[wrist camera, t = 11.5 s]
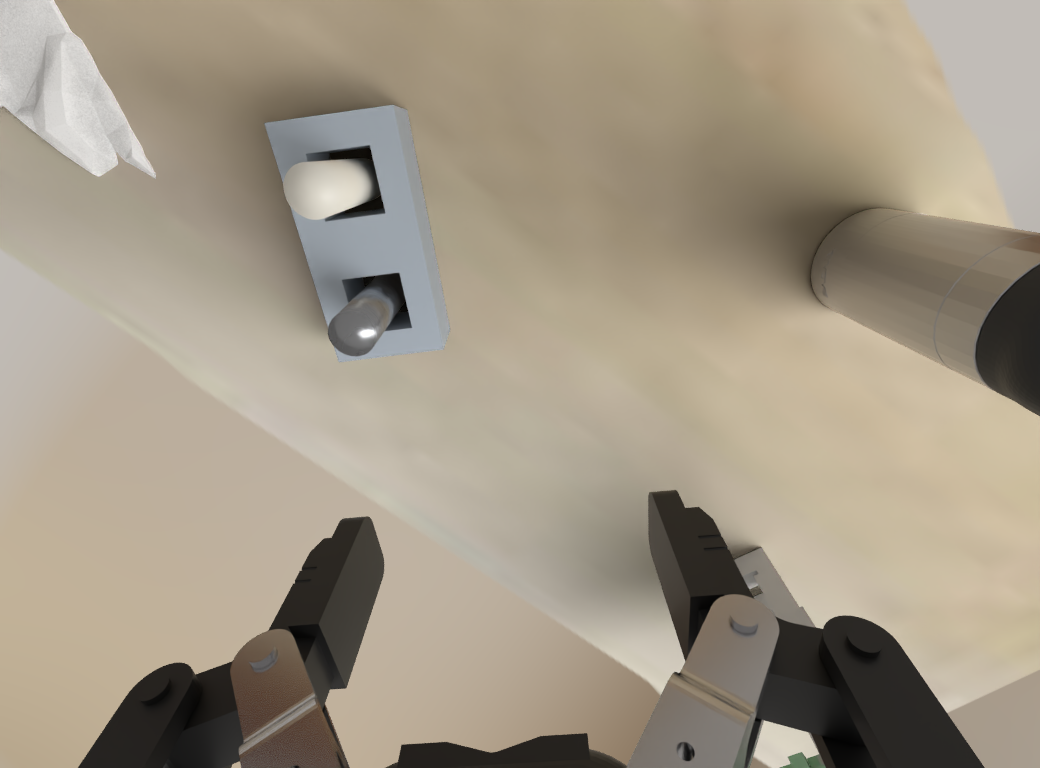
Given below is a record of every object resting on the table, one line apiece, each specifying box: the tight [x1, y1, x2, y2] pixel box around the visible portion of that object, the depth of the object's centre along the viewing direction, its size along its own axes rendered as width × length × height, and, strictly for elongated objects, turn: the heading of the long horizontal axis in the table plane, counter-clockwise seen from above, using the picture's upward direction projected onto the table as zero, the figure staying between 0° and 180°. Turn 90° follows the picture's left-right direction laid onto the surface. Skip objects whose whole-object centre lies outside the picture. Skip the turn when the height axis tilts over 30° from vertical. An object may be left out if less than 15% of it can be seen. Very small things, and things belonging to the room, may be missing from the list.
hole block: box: [264, 105, 450, 362], centre depth 39 cm, size 9×18×5 cm, turn 7°
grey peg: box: [328, 273, 406, 356], centre depth 38 cm, size 3×3×12 cm
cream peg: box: [283, 158, 381, 220], centre depth 34 cm, size 3×3×12 cm
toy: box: [734, 547, 826, 768], centre depth 48 cm, size 30×10×30 cm, turn 34°
